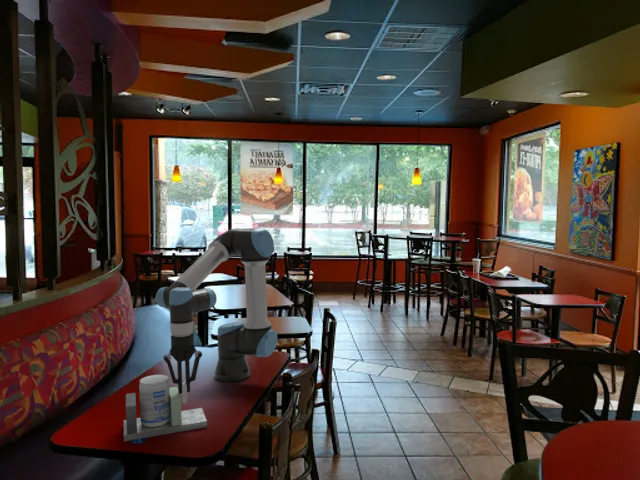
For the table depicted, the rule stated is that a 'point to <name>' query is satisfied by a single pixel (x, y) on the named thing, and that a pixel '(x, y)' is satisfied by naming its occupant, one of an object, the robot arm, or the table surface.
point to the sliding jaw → (175, 406)
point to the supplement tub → (154, 400)
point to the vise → (138, 431)
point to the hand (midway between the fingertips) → (184, 401)
